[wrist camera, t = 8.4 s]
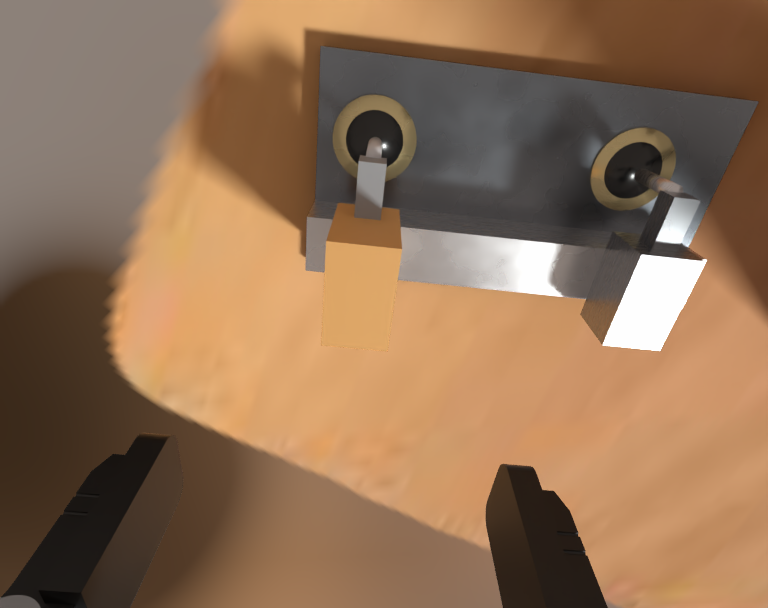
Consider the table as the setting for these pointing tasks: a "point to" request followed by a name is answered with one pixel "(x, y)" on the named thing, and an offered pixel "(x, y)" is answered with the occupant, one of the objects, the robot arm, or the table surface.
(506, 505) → the robot arm
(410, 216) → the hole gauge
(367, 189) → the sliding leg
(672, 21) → the table surface
